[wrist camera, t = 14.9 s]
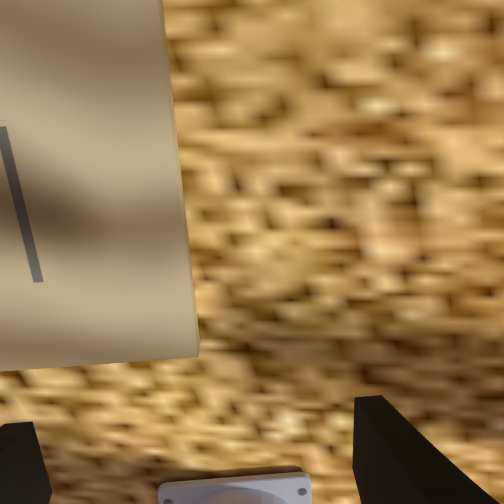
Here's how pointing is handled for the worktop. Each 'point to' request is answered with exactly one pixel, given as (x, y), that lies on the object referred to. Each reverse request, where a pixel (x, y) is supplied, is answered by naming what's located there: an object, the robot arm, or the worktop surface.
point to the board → (90, 188)
